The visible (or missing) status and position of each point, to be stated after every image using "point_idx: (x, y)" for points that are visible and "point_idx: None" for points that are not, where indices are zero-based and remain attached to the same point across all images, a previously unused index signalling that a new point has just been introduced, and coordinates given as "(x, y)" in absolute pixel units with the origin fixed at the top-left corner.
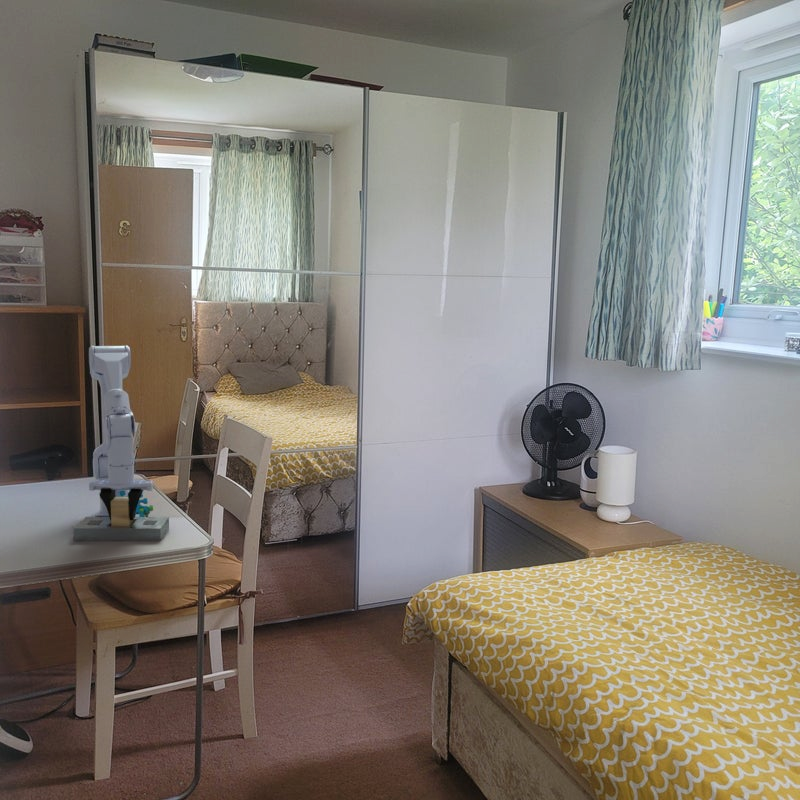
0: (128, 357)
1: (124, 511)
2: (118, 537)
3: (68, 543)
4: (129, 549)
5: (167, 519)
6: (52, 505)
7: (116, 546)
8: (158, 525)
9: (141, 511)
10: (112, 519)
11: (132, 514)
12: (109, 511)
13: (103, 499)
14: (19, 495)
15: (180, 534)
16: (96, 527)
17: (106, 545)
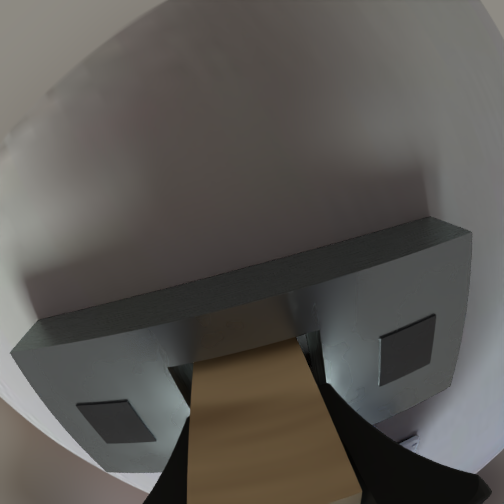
0: None
1: (217, 447)
2: (218, 281)
3: (435, 176)
4: (83, 163)
5: (91, 456)
6: (493, 420)
7: (176, 184)
8: (50, 392)
9: None
10: (303, 377)
11: (177, 443)
12: (348, 420)
13: (435, 474)
14: None
15: None
16: (374, 285)
17: (243, 184)
